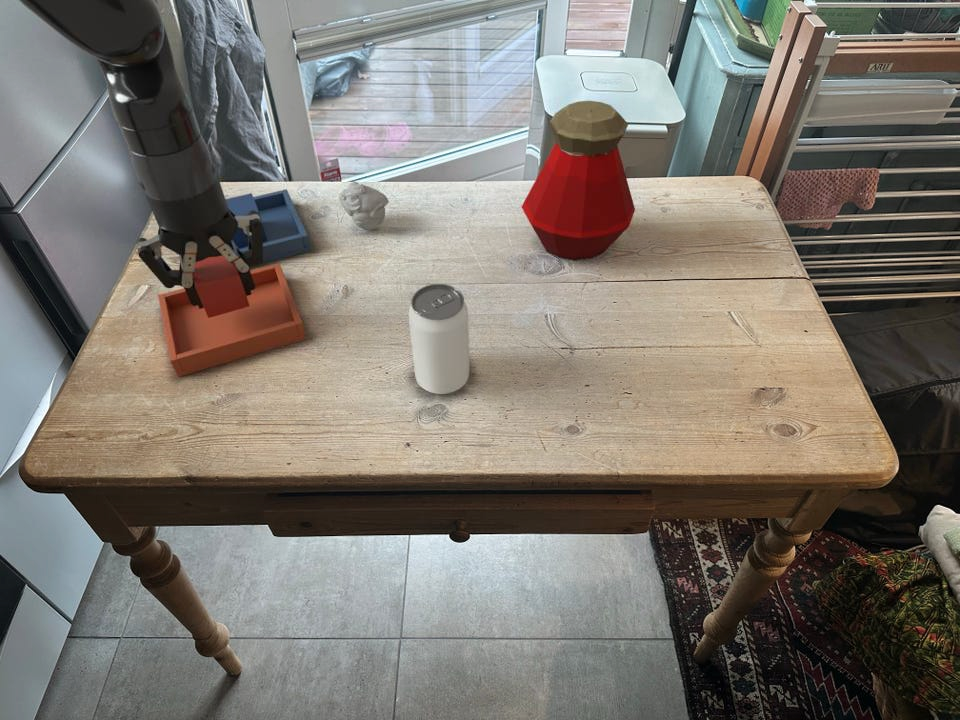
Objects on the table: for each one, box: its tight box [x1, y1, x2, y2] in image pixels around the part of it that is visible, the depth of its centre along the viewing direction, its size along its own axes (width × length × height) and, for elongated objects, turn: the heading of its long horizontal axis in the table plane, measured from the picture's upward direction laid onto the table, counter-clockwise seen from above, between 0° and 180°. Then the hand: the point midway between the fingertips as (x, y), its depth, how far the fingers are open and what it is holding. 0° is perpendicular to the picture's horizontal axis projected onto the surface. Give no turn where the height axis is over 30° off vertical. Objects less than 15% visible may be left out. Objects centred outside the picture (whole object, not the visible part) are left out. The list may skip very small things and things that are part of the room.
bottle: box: [521, 100, 636, 261], centre depth 91 cm, size 16×14×20 cm
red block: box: [193, 255, 250, 318], centre depth 82 cm, size 5×5×5 cm
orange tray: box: [157, 262, 307, 378], centre depth 85 cm, size 16×13×3 cm
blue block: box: [225, 193, 267, 248], centre depth 96 cm, size 5×5×5 cm
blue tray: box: [239, 188, 312, 267], centre depth 97 cm, size 16×13×3 cm
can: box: [408, 283, 470, 395], centre depth 76 cm, size 6×6×12 cm
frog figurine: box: [338, 181, 389, 231], centre depth 98 cm, size 6×7×7 cm
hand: (224, 297), depth 83 cm, fingers closed on red block, 5 cm apart
